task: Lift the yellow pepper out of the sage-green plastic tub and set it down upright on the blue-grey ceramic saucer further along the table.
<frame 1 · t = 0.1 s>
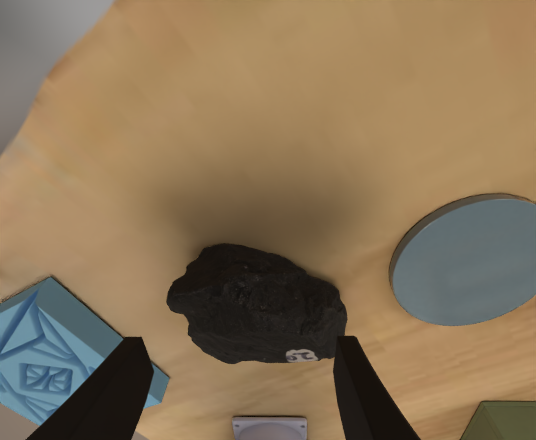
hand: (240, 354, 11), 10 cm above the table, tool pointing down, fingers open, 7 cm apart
decorative tile: (88, 294, 30), on the table
tub: (525, 436, 32), on the table
rock: (260, 281, 23), on the table
saucer: (467, 263, 21), on the table
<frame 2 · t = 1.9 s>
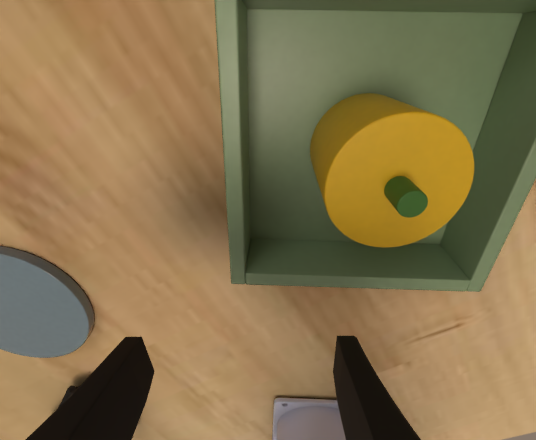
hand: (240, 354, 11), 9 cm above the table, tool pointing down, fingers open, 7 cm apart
tub: (358, 144, 16), on the table
pepper: (360, 147, 16), resting on tub
saucer: (22, 303, 23), on the table
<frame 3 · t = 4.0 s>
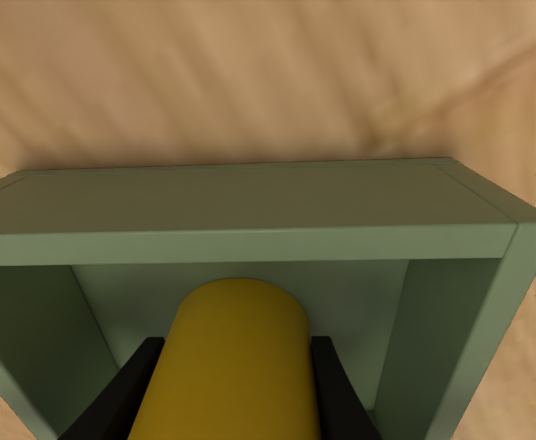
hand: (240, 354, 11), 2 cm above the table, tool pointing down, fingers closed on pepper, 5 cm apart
tub: (244, 318, 12), on the table
pepper: (242, 328, 12), point 1 cm above the table, touching gripper, tub
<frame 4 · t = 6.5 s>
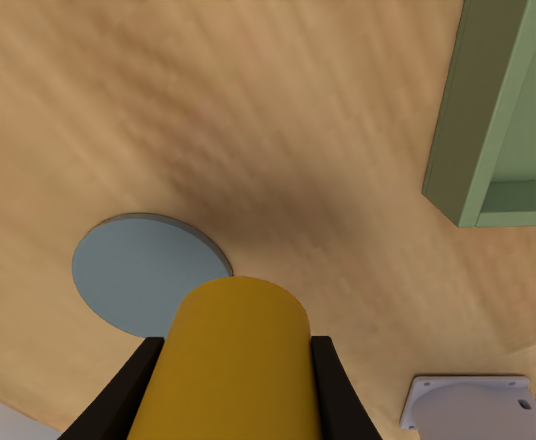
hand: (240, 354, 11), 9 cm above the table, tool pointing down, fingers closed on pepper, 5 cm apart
pepper: (242, 326, 12), point 8 cm above the table, touching gripper
saucer: (157, 280, 21), on the table
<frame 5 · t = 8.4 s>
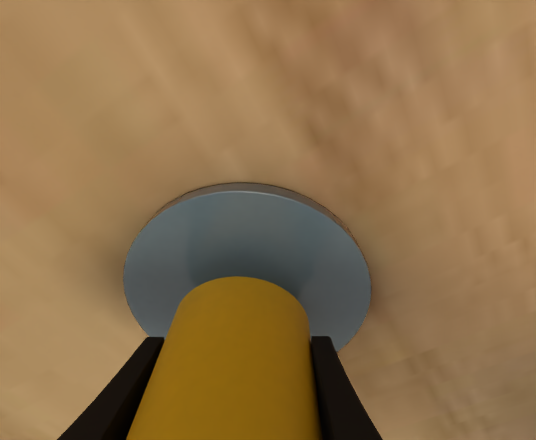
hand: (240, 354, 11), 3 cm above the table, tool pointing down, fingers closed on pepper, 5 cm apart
pepper: (242, 326, 12), point 2 cm above the table, touching gripper
saucer: (248, 290, 14), on the table
when the fingers open (2 cm above the table, at t = 9.4 s): pepper stays where it is, resting on saucer.
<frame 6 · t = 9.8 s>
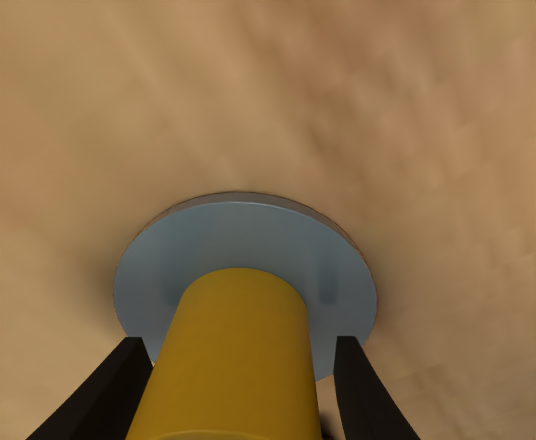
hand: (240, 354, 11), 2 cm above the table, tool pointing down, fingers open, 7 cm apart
pepper: (243, 317, 12), point 1 cm above the table, touching saucer
saucer: (246, 304, 13), on the table
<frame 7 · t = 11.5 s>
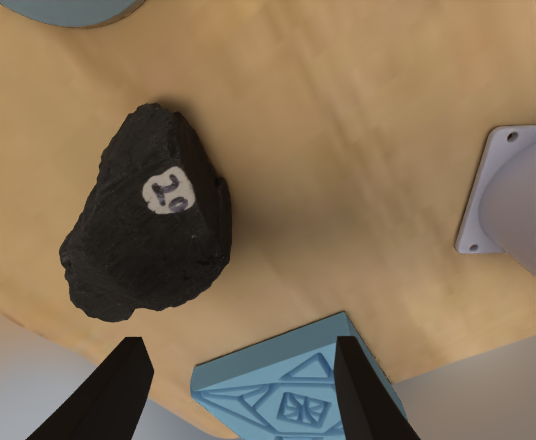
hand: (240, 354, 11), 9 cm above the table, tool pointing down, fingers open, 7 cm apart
decorative tile: (264, 336, 31), on the table
rock: (167, 204, 19), on the table
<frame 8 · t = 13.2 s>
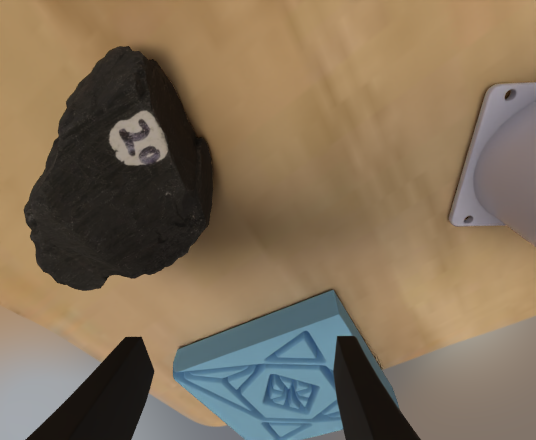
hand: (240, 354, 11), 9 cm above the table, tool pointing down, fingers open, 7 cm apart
decorative tile: (253, 321, 30), on the table
rock: (145, 169, 18), on the table
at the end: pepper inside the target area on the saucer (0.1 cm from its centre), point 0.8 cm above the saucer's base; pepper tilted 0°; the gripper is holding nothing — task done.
